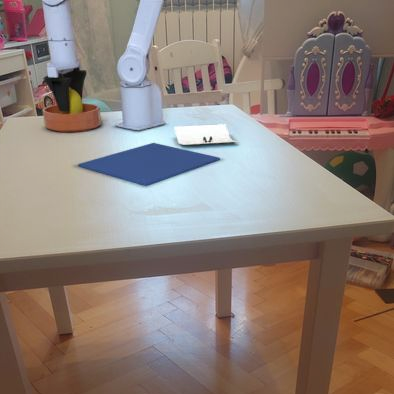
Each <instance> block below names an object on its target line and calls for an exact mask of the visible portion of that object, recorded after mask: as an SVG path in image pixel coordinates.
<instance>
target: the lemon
mask: <svg viewBox="0 0 394 394" xmlns="http://www.w3.org/2000/svg"><path fill="white" fill-rule="evenodd" d="M82 103H83V99H82V100H81V97H80V95H79V94H78V93H77V92H76V91H75V90H73V89H71V88H70V87H69V111H68V112H66V111H60V112H61V114H73V113H83V104H82Z"/></svg>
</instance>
